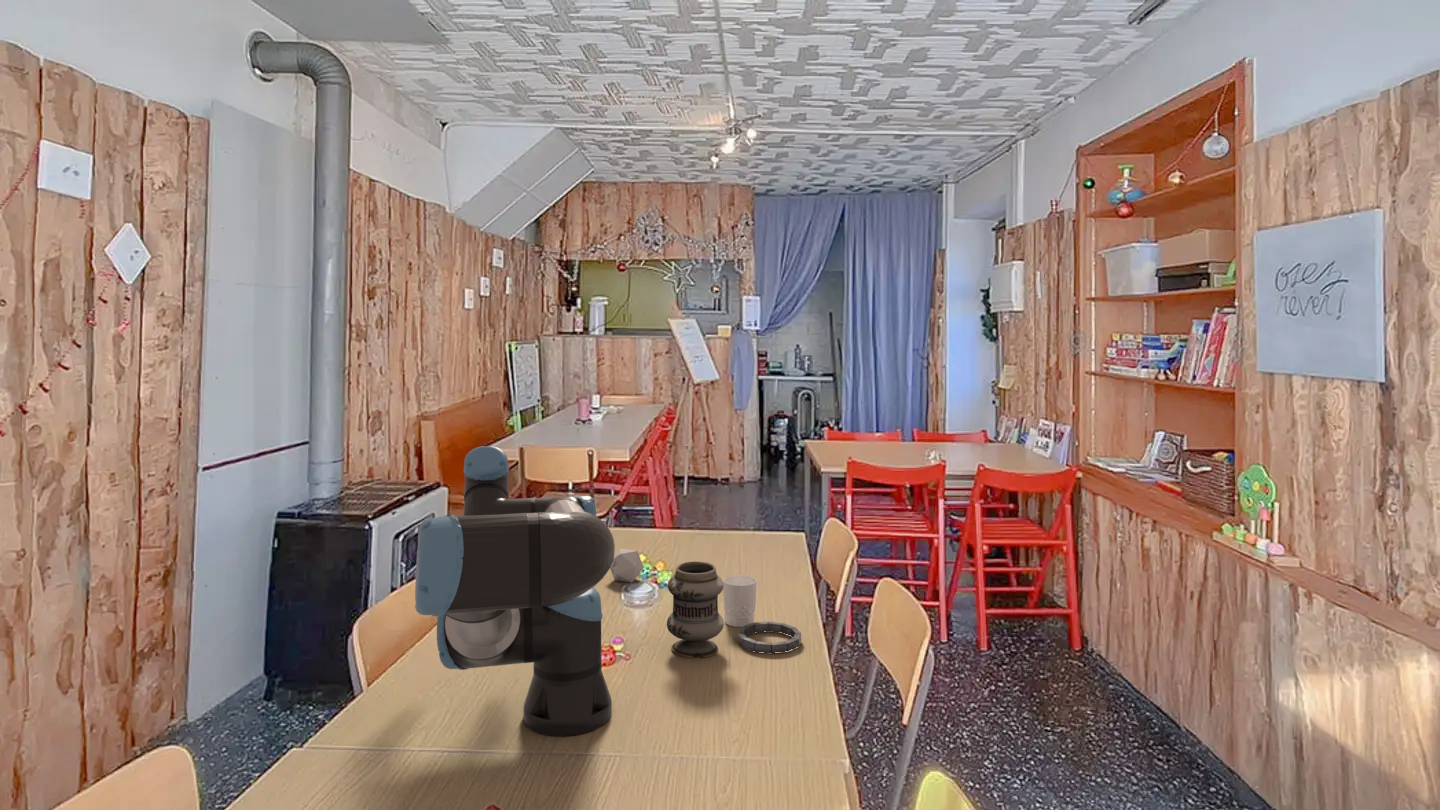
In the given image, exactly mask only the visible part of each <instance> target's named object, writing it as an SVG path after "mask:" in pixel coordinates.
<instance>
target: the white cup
mask: <svg viewBox="0 0 1440 810" xmlns="http://www.w3.org/2000/svg"><path fill="white" fill-rule="evenodd" d="M722 581H723V584H724V586H723V590H722V591H723V596H722V597H723V611H724V623H725V624H726V625H728V626H731V627H734V628H735V627H736V628H741V627H742V626H745V625H748V624H750V623H753V622H754V623H755V611H756V600H757V590H758V589H757V586H758V585H757V584H758V580H757V578H755V577H753V576H749V575H740V574H735V575H730V576H726V577H724V578H723V579H722Z"/></svg>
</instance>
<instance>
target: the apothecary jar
mask: <svg viewBox="0 0 1440 810" xmlns="http://www.w3.org/2000/svg"><path fill="white" fill-rule="evenodd" d="M723 586H724V584H723V579H722V578H721V577H720V576H719V575H718V573H717V568H716V566H715V565H714V564H713V563H711V562H706V561H694V560H693V561H686V562H681V563H680V564H677V566H676V567H675V572H674V575H672V576H671V577H670V578H669V580H668V582H667V590H668V591H669V593H670V594H671V595H672V596H673V597H672V598H673V599H672V600H673V601H672V613H671V614H670V615H668V618H667V620H666V627H667V630H668V632H669V633H670V634H671V635H673V636H674V637H676V638H677V639H680V640H678V641H676V642H674V643H673V644H672V646H671V651H672V653H673V654H675V655H677V656H679V657H682V658H687V659H696V658H701V659H703V658H710V657H712V656H714V655H715V654H717V652H718V651H719V648H718V645H717V644H716V643H715V642H713V641H711V639H714V638H716V636H718V635H719V634H720V633H721V632H722V631H723V629H724V626H725V620H724V618H723V616H722V615H721V614H720V613H719V602H718V601H719V600H718V599H719V598H718V597H719V595H720V594H721V593H722V591H723Z"/></svg>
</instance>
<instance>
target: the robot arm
mask: <svg viewBox="0 0 1440 810" xmlns="http://www.w3.org/2000/svg"><path fill="white" fill-rule="evenodd" d="M508 460H509V459H508V455H507V454H506V453H505V452H504V451H503V450H502V449H501V448H499V447H497V446H493V445H485V446H483V445H481V446H478V447H475V448H473V449H472V450H470V451H468V453H467V454H466V455H465V457H464V462H463V463H464V464H463V474H464V490H463V499H464V500H463V501H464V504H463V515H454V514H447V515H446V514H445V515H443V516H442V515H441V516H436V517H428V518H426V519H424V520H422V522H421V523H420V525H419V527H418V532H417V533H418V534H417V550H416V562H415V563H416V565H415V568H416V569H415V592H414V594H415V595H414V601H415V606H414V608H415V611H416V612H417V613H418V614H419V615H420V616H421V615H422V616H432V617H437V619H436V643H437V644H436V645H437V650H438V652H439V653H438V655H439V659H440V662H441V664H442V665H443V666H444V667H445V668H446V669H448V670H461V671H465V670H469V669H475V668H487V667H496V666H507V665H518V664H528V663H531V664H533V673H532V674H533V676H532V678H531V681H530V685H529V688H528V692H527V694H526V697H525V701H524V702H523V703H524V704H523V709H522V710H523V711H522V712H523V723H524V725H525V726H526V727H527V728H528V729H529V730H531V731H533V732H536V733H538V734H540V735H541V734H542V735H547V736H554V737H565V736H568V737H569V736H574V735H575V736H576V735H581V734H584V733H588V732H591V731H594V730H596V729H598V728H600V727H602V726H603V725H605V724H606V723H607V722H608V721H609V719H611V716H612V709H613V708H612V697H611V693H610V691H609V687H608V685H607V682H606V679H605V676H604V673H603V671H602V668H603V667H602V620H603V612H602V601H601V600H602V599H601V595H600V593H599V591H598V590H597V589H596V588H595V587H596V585H597V584H599V583H600V582H601V581H602V580H603V579H604V578H605V576H606V575H607V573H608V572H609V570H611V569H610V567H611V564H612V562H613V558H614V555H615V551H616V549H615V547H616V543H615V540H614V537H613V534H612V532H611V530H610V529H609V527H608V526H607V524H606V523H605V522H604V521H603V520H602V519H601V518H599V517H598V516H597V506H596V503H595V502H596V501H595V498H594V497H593V496H590V495H577V494H573V495H571V496H551V497H550V496H549V497H526V498H525V497H524V498H522V497H521V498H519V497H518V498H510V495H509V492H510V489H509V482H510V481H509V473H510V467H509V466H510V465H509V461H508Z"/></svg>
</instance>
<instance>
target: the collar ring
mask: <svg viewBox="0 0 1440 810" xmlns="http://www.w3.org/2000/svg"><path fill="white" fill-rule="evenodd" d="M764 631H773V632H782V633H785V634H788V635H791V636H792V637H793V638H790V639H788V640H787V639H786V640H784V641H777V642H776V641H775V642H767V641H758V640H755V639H752V638H750V637H749V636H751V635H750V634H752V635H754V634H756V633H755V632H763V633H765V632H764ZM753 633H754V634H753ZM748 635H749V636H748ZM800 642H801V643H802V632H801V631H800V630H799V629H797V627H796V626H794V625H789V624H788V623H783V622H778V621H777V622H776V621H759V622H758V621H757V622H755V621H754V623H750V624H748V625H745V626H742V627H739V629H738V632H737V643H738V644H739V645H740V646H741V648H742V649H745V648H746V649H745V650H747V649H749V650H748V651H750V650H751V651H750V652H752V651H755V652H764V653H775V652H785V651H789V650H791V649H794V648H796V647H798V646H799V644H800V645H801V643H800ZM799 647H800V646H799ZM755 652H754V653H755ZM764 653H763V654H764Z"/></svg>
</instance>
